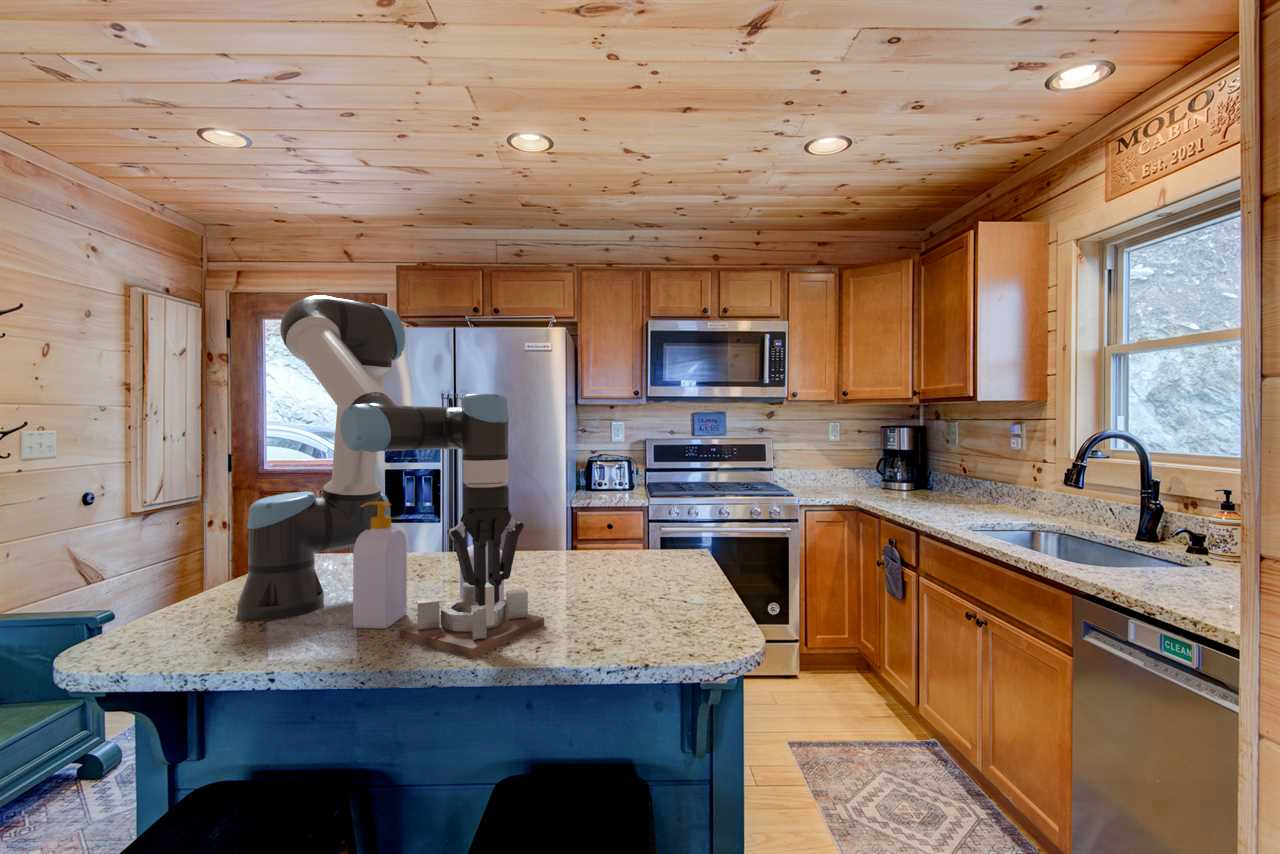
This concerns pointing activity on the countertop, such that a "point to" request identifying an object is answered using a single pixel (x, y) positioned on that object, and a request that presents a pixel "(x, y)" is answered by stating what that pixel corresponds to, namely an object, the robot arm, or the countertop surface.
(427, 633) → the hub
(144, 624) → the countertop surface
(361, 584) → the soap bottle
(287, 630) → the countertop surface
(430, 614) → the ring nut
